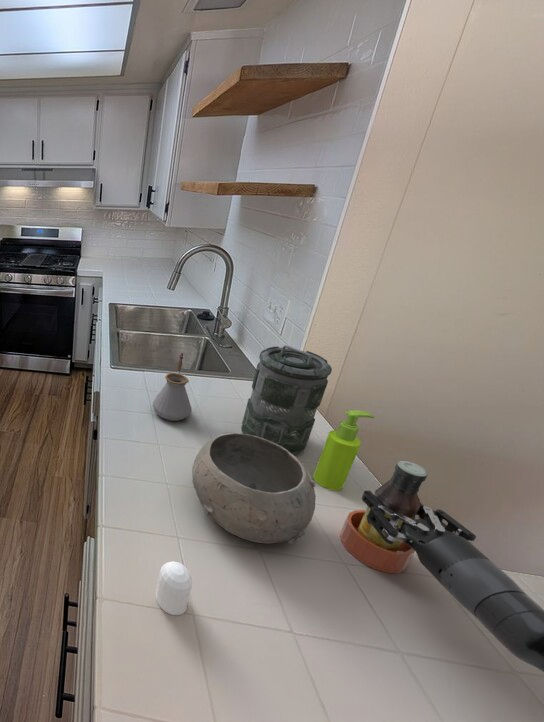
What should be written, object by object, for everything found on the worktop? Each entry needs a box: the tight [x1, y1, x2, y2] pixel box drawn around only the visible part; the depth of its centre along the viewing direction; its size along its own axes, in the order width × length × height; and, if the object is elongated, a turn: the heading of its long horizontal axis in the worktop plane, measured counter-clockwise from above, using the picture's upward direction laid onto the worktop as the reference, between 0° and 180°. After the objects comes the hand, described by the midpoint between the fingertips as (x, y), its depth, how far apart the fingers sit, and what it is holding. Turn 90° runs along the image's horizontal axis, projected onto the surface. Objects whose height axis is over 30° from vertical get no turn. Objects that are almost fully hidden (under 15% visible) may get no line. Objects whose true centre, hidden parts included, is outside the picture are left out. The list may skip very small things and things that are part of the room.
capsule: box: [154, 560, 193, 616], centre depth 66 cm, size 5×5×8 cm
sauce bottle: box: [357, 460, 428, 552], centre depth 72 cm, size 6×6×20 cm
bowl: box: [191, 432, 316, 544], centre depth 82 cm, size 23×23×15 cm
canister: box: [240, 344, 333, 456], centre depth 103 cm, size 16×16×28 cm
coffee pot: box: [152, 352, 192, 422], centre depth 121 cm, size 21×12×15 cm, turn 155°
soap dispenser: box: [312, 409, 375, 492], centre depth 90 cm, size 6×7×20 cm
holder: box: [339, 509, 416, 574], centre depth 76 cm, size 10×10×5 cm
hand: (383, 494), depth 74 cm, fingers closed on sauce bottle, 6 cm apart
